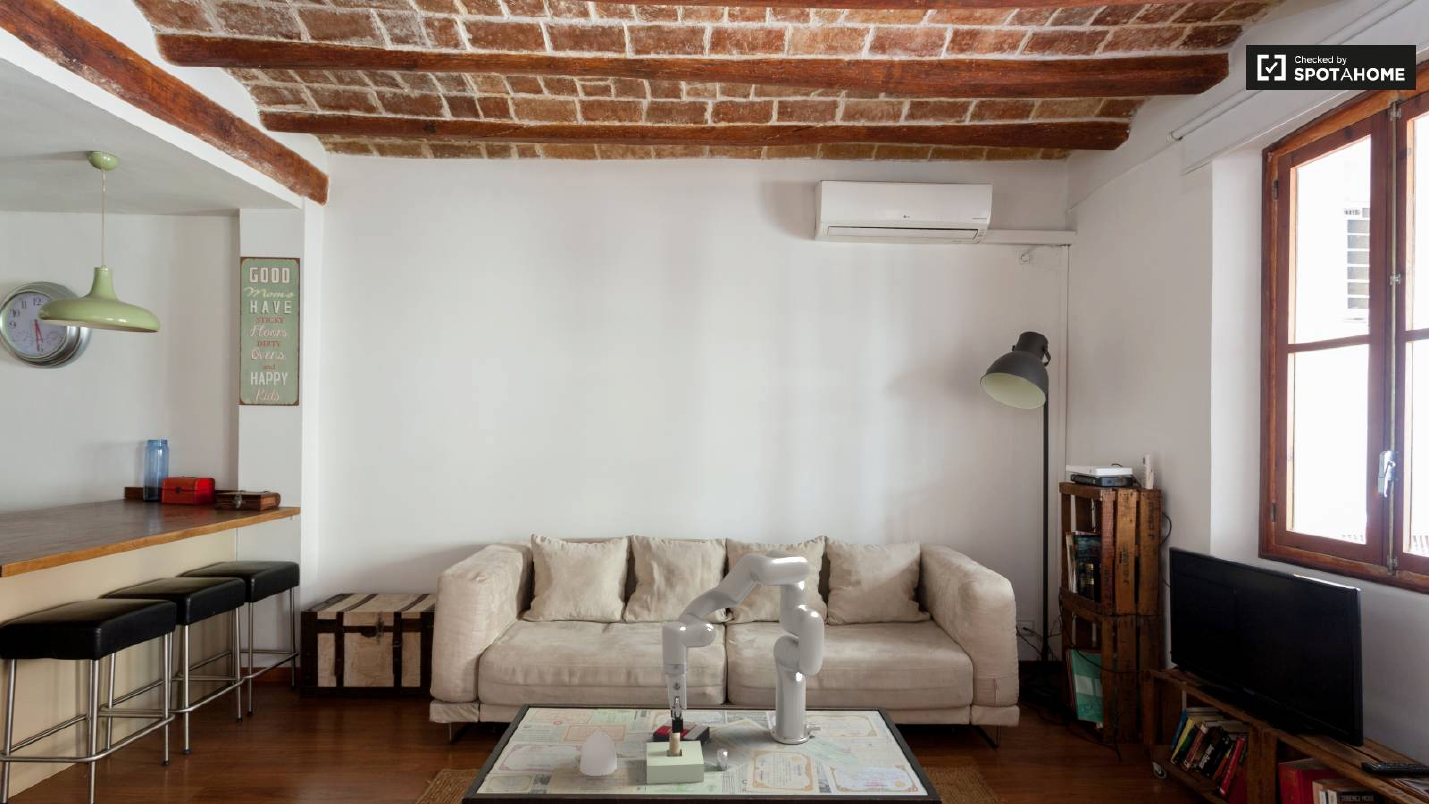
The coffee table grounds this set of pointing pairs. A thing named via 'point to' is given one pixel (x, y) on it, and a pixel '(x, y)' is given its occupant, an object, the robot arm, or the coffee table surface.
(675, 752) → the long pin
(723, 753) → the short pin
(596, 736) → the teardrop
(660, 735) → the calculator
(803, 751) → the coffee table surface
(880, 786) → the coffee table surface
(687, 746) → the peg block
